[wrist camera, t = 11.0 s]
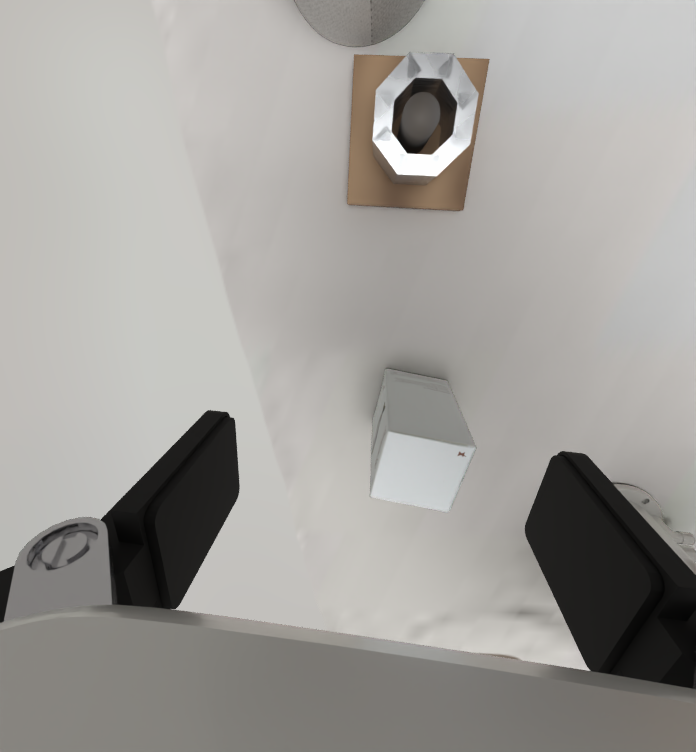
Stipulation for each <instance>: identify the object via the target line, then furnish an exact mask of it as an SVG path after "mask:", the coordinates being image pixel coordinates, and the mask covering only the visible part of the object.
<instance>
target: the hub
mask: <svg viewBox="0 0 696 752" xmlns="http://www.w3.org/2000/svg"><path fill="white" fill-rule="evenodd" d="M420 92H427V93H430V94H432V95H433V96H434V97H435V98H436V99H437V101H438V103H439V106H440V119H439V122H438V124H439V125H440V127H441V133H440V140H439V147H438V149H437V150H436V151H435V152H434V153H433V154H432V155H424V154H407V153H406V151H405V150H404V149H403V147H402V146H401V144H400V143H399V142H398V140H397V139H396V137H395V136H394V135H393V133H392V132H391V131H392V124H393V123H394V122H395V120H396V119H397V118H398V117H399V116H400V115H401V114H402V113H403V110H404V107H405V104H406V103H407V101H408V100H409V99H410V98H411V97H412V96H413V95H415V94H417V93H420ZM478 95H479V93H478V92H477V90H476V89H475V87H474V86H473V84H472V82H471V81H470V79H469V77H468V76H467V74H466V73H465V71H464V69H463V68H462V66H461V65H460V63H459V61H458V60H457V58H456V57H455V55H454V53H453V54H451V53H420V52H409V53H408V54H407V56H406V57H405V58H404V59H403V60H402V61H401V62H400V63H399V65H398V66H397V67H396V68H395V69H394V70H393V71H392V72H391V74H390V75H389V76H388V77H387V78H386V79H385V80H384V81H383V83H382V84H381V85H380V86H379V87H378V88H377V89H376V97H375V112H374V126H373V139H372V143H373V157H374V158H375V159H376V161H377V162H378V163H379V165H380V166H381V167H382V169H383V170H384V171H385V173H386V174H387V176H388V177H389V178H390V180H391V181H392V182H393V184H408V185H427V184H428V183H429V182H430V181H431V180H433V179H434V178H435V177H436V176H437V175H438V174H439V173H440V172H441V171H442V170H443V169H445V168H446V167H447V166H448V165H449V164H450V163H451V162H452V161H453V160H454V159H455V158H456V157H457V156H458V155H459V154H460V153H462V152H463V151H464V150H465V149H466V148H467V147H468V146H469V145H470V142H471V136H472V130H473V124H474V118H475V112H476V106H477V100H478Z"/></svg>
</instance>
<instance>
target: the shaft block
mask: <svg viewBox="0 0 696 752" xmlns="http://www.w3.org/2000/svg"><path fill="white" fill-rule="evenodd" d="M405 57H406V56H384V55H355V54H354V69H353V91H352V112H351V133H350V155H349V176H348V198H347V204H349V205H361V206H379V207H397V208H415V209H433V210H451V211H460V210H463V208H464V202H465V197H466V191H467V185H468V179H469V174H470V168H471V162H472V156H473V151H474V145H475V139H476V133H477V128H478V122H479V116H480V110H481V105H482V99H483V93H484V87H485V82H486V76H487V70H488V64H489V59H473V58H457V60H458V61H459V63H460V65H461V66H462V68H463V69H464V71H465V73H466V74H467V76H468V77H469V79H470V81H471V82H472V84H473V86H474V87H475V89H476V90H477V92H478V93H479V95H478V100H477V106H476V112H475V118H474V124H473V130H472V136H471V142H470V145H469V146H468V147H467V148H466V149H465V150H464V151H463V152H462V153H460V154H459V155H458V156H457V157H456V158H455V159H454V160H453V161H452V162H451V163H450V164H449V165H448V166H447V167H446V168H445V169H443V170H442V171H441V172H440V173H439V174H438V175H437V176H436V177H435V178H434V179H433V180H431V181H430V182H429V183H428V184H427V185H408V184H393V182H392V181H391V180H390V178H389V177H388V176H387V174H386V173H385V171H384V170H383V169H382V167H381V166H380V165H379V163H378V162H377V161H376V159H375V158H374V157H373V143H372V139H373V126H374V112H375V97H376V89H377V88H378V87H379V86H380V85H381V84H382V83H383V81H384V80H385V79H386V78H387V77H388V76H389V75H390V74H391V72H392V71H393V70H394V69H395V68H396V67H397V66H398V65H399V63H400V62H401V61H402V60H403V59H404V58H405ZM439 119H440V106H439V103H438V101H437V99H436V98H435V97H434V96H433V95H432V94H430V93H427V92H420V93H417V94H415V95H413V96H412V97H411V98H410V99H409V100H408V101H407V103H406V104H405V107H404V110H403V113H402V114H401V115H400V116H399V117H398V118H397V119H396V120H395V122H394V123H393V124H392V131H391V132H392V133H393V135H394V136H395V137H396V139H397V140H398V142H399V143H400V144H401V146H402V147H403V149H404V150H405V151H406V153H407V154H424V155H432V154H433V153H434V152H435V151H436V150H437V149H438V147H439V140H440V133H441V127H440V125H439V124H438V122H439Z"/></svg>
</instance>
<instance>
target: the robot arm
mask: <svg viewBox="0 0 696 752" xmlns="http://www.w3.org/2000/svg"><path fill="white" fill-rule="evenodd" d="M238 494H239V473H238V458H237V443H236V429H235V420H234V418H230V416H229V414H228V413H227V412H220V411H211V410H210V411H209V410H208V411H207V412H205V413H204V415H202V416H201V418H200V419H199V420H198V421H197V422H196V423H195V424H194V425H193V426H192V427H191V428H190V429H189V430H188V431H187V432H186V433H185V434H184V435H183V436H182V437H181V438H180V439H179V440H178V441H177V442H176V443H175V444H174V445H173V446H172V447H171V448H170V449H169V450H168V451H167V452H166V453H165V454H164V455H163V456H162V457H161V459H159V460H158V462H156V463H155V465H154V466H153V467H152V468H151V469H150V470H149V471H148V472H147V473H146V474H145V475H144V476H143V477H142V478H141V479H140V480H139V481H138V482H137V483H136V484H135V485H134V486H133V487H132V488H131V489H130V490H129V491H128V492H127V493H126V494H125V495H124V496H123V497H122V498H121V499H120V500H119V501H118V502H117V503H116V504H115V505H114V507H113V508H112V509H111V510H110V511H109V512H108V513H107V514H106V515H105V516H104V517H103V518H102V519H101V520H99V519H96V518H92V517H82V518H75V519H70V520H66V521H64V522H61V523H59V524H56V525H54V526H52V527H50V528H48V529H47V530H45V531H43V532H41V533H39V534H38V535H37V536H36V537H34V538H33V539H32V540H31V541H29V542H28V543H27V544H26V546H25V547H24V548H23V549H22V550H21V552H20V553H19V556H18V558H17V560H16V563H15V566H12V567H10V568H7V569H5V570H2V571H0V752H696V563H695V562H696V551H695V550H694V548H692V547H691V546H687V545H678V543H679V544H688V545H693V544H694V543H695V538H694V536H693V535H692V534H691V533H688V532H677V531H676V532H673V531H672V530H671V529H670V528H669V527H668V526H667V525H666V524H665V523H664V522H663V521H662V520H663V515H662V510H661V508H660V506H659V504H658V503H657V502H656V501H655V500H654V499H653V498H652V497H651V496H650V495H649V494H648V493H646V492H645V491H643V490H641V489H639V488H637V487H633V486H630V485H623V484H612V482H611V481H610V480H609V479H608V478H607V477H606V476H605V475H604V474H603V473H602V472H601V470H600V469H599V468H598V467H597V466H596V465H595V464H594V463H593V462H592V461H591V459H590V458H589V457H588V456H587V455H585V454H582V453H574V452H565V451H562V452H560V453H558V455H557V456H556V455H555V456H553V457H552V458H551V460H550V462H549V465H548V467H547V470H546V473H545V475H544V478H543V480H542V483H541V485H540V488H539V491H538V493H537V496H536V498H535V501H534V504H533V506H532V509H531V511H530V514H529V516H528V519H527V522H526V525H525V534H526V537H527V540H528V542H529V544H530V546H531V548H532V550H533V553H534V555H535V557H536V559H537V561H538V563H539V565H540V568H541V570H542V572H543V574H544V576H545V578H546V580H547V582H548V585H549V587H550V589H551V591H552V593H553V595H554V597H555V600H556V602H557V604H558V606H559V608H560V610H561V612H562V614H563V617H564V619H565V621H566V623H567V625H568V627H569V629H570V631H571V634H572V636H573V638H574V640H575V642H576V644H577V646H578V649H579V651H580V653H581V655H582V657H583V659H584V661H585V663H586V665H587V667H588V668H589V669H590V670H591V671H586V670H579V669H573V668H567V667H560V666H554V665H547V664H541V663H535V662H528V661H522V660H515V659H508V658H503V657H496V656H490V655H483V654H477V653H470V652H464V651H457V650H450V649H444V648H437V647H431V646H424V645H417V644H411V643H404V642H397V641H391V640H384V639H377V638H371V637H364V636H357V635H351V634H344V633H337V632H330V631H323V630H316V629H309V628H303V627H295V626H289V625H282V624H275V623H268V622H261V621H254V620H247V619H240V618H233V617H227V616H219V615H210V614H203V613H195V612H187V611H179V610H171V609H176V608H177V607H178V606H179V605H180V603H181V601H182V599H183V597H184V596H185V594H186V592H187V590H188V588H189V586H190V585H191V583H192V581H193V579H194V577H195V576H196V574H197V572H198V570H199V568H200V566H201V564H202V563H203V561H204V559H205V557H206V555H207V553H208V551H209V550H210V548H211V546H212V544H213V542H214V541H215V539H216V537H217V535H218V533H219V531H220V529H221V528H222V526H223V524H224V522H225V520H226V518H227V517H228V515H229V513H230V511H231V509H232V507H233V506H234V504H235V502H236V500H237V498H238Z"/></svg>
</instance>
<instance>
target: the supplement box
mask: <svg viewBox="0 0 696 752" xmlns="http://www.w3.org/2000/svg"><path fill="white" fill-rule="evenodd" d="M475 450H476V445H475V443H474V440H473V438H472V436H471V433H470V431H469V429H468V427H467V424H466V422H465V420H464V417H463V415H462V413H461V410H460V408H459V406H458V404H457V401H456V399H455V397H454V394H453V392H452V390H451V387H450V385H449V383H448V381H446V380H442V379H437V378H432V377H427V376H422V375H417V374H413V373H407V372H403V371H397V370H393V369H385V373H384V378H383V383H382V387H381V391H380V395H379V399H378V403H377V407H376V410H375V414H374V417H373V420H372V441H371V476H370V497H372V498H377V499H382V500H387V501H392V502H397V503H402V504H407V505H412V506H418V507H423V508H427V509H432V510H436V511H441V512H445V513H448V512H449V511H450V509H451V507H452V505H453V502H454V500H455V497H456V495H457V493H458V490H459V488H460V485H461V483H462V481H463V479H464V476H465V473H466V471H467V469H468V466H469V464H470V462H471V459H472V457H473V455H474V452H475Z"/></svg>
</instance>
